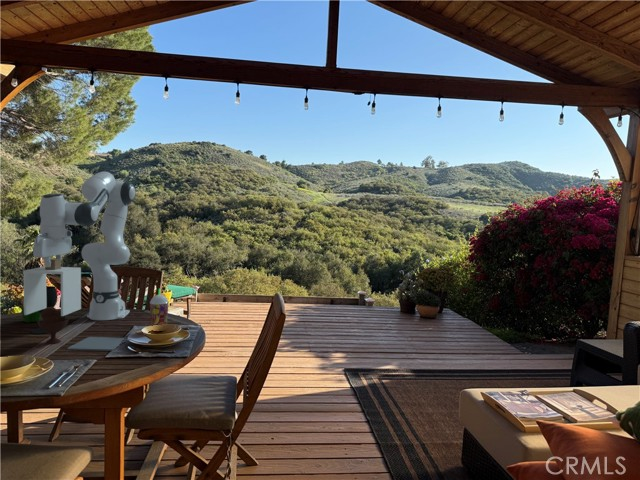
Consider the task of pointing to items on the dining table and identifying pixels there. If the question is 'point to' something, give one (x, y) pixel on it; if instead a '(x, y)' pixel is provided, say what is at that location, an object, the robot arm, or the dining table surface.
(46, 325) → the ice cream bowl
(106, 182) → the robot arm
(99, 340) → the mat
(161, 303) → the smoothie
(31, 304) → the cover
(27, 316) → the bell pepper
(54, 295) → the wine glass
